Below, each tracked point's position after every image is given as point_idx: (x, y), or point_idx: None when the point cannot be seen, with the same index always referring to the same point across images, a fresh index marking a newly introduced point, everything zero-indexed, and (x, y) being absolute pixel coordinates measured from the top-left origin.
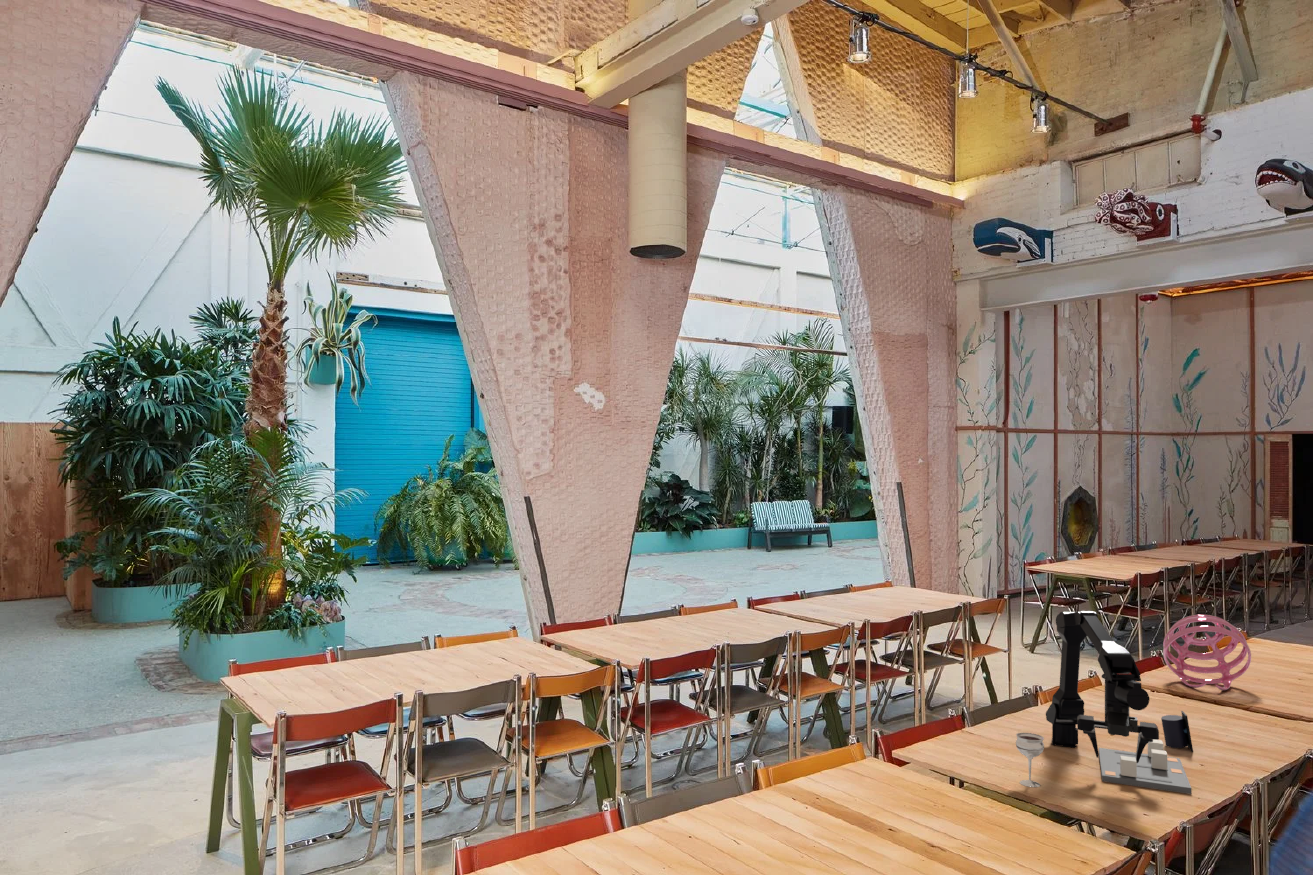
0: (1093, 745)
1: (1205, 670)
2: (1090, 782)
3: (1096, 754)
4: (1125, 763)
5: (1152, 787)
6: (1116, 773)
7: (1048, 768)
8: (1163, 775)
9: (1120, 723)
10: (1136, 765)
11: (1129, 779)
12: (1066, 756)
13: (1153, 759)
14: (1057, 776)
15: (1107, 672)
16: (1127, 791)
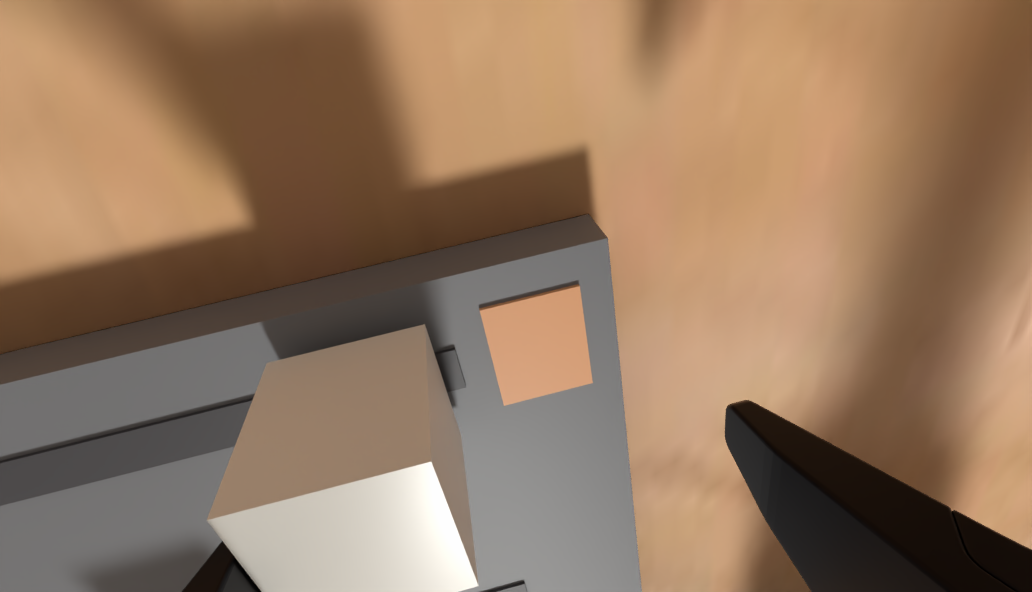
0: (938, 510)
1: None
2: (693, 88)
3: (776, 419)
4: (372, 435)
5: (121, 329)
6: (487, 383)
7: (1006, 243)
8: (133, 587)
9: None
10: (228, 469)
11: (334, 302)
12: None
13: None
14: (992, 61)
15: None
16: (286, 29)
